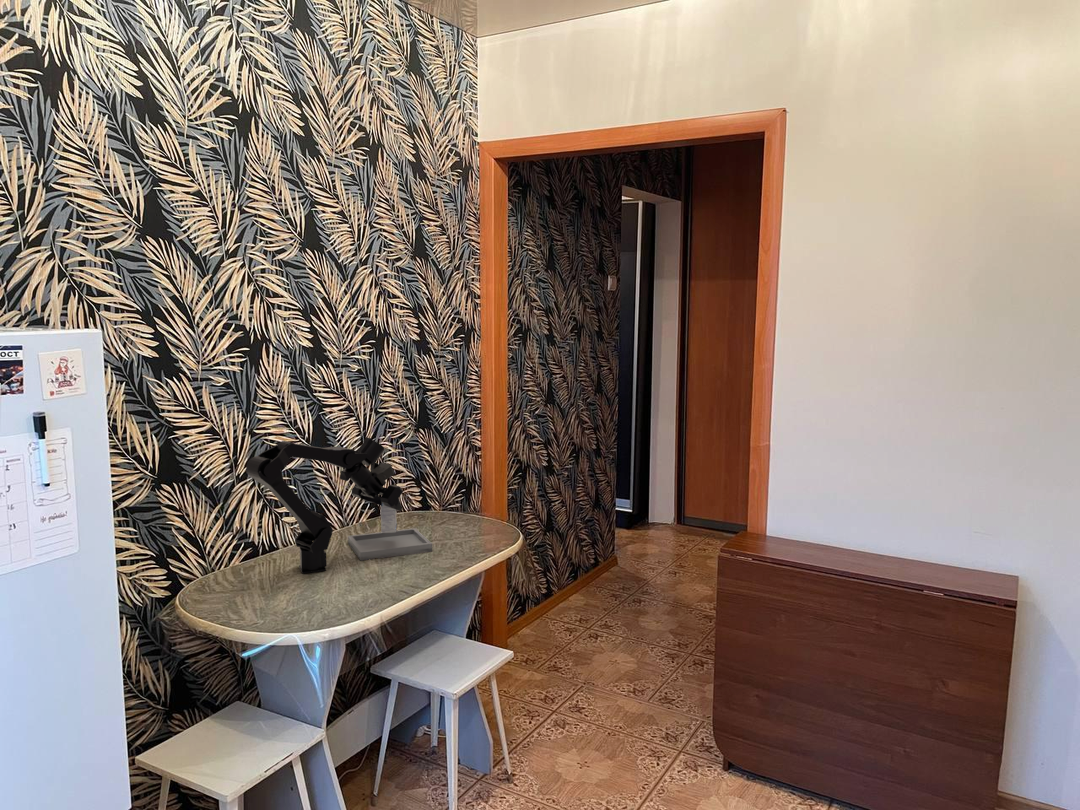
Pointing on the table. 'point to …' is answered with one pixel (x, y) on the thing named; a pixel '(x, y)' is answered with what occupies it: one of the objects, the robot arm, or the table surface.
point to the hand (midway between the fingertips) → (392, 507)
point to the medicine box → (388, 519)
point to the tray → (389, 544)
